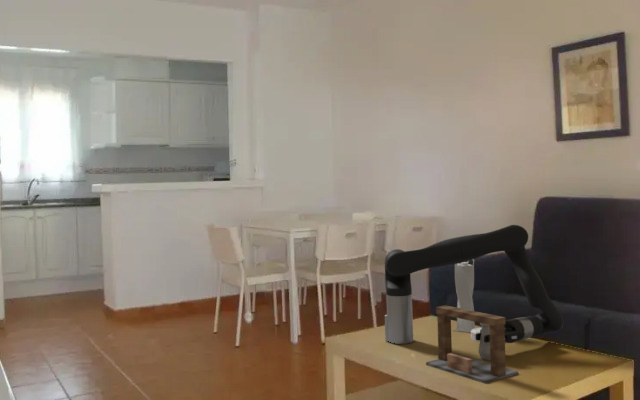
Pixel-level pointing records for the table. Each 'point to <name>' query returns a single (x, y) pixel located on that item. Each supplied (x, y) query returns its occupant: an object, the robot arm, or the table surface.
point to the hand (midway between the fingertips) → (480, 338)
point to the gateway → (465, 364)
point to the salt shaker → (483, 346)
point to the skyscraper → (464, 293)
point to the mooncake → (474, 332)
